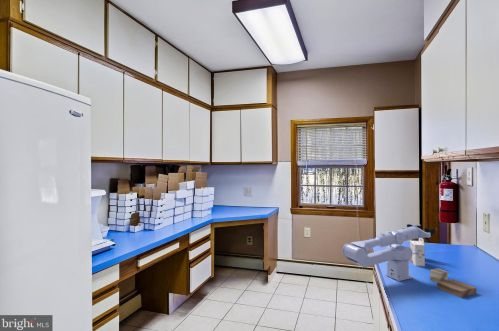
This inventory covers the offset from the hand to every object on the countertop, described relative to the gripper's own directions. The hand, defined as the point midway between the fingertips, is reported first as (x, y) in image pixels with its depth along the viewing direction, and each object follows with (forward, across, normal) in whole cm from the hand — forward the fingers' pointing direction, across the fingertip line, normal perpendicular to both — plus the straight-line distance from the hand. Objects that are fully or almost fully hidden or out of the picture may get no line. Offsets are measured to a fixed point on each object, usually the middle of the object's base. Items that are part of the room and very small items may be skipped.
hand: (427, 229), depth 150 cm
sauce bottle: (+11, +16, +23) cm, 30 cm away
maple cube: (-9, -11, +21) cm, 25 cm away
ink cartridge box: (+3, +10, +22) cm, 25 cm away
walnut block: (-12, -21, +21) cm, 32 cm away
